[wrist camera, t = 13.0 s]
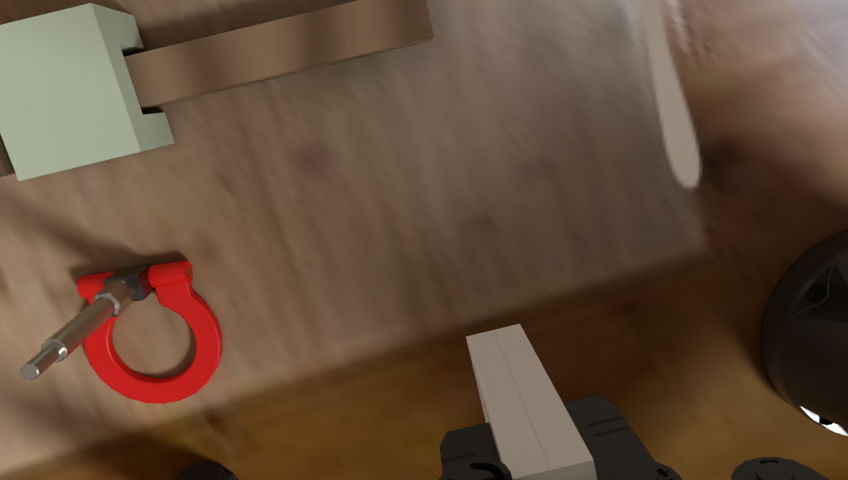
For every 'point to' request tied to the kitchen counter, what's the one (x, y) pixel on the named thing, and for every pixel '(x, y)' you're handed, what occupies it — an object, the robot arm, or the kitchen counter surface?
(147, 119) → the slider
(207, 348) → the tow hook
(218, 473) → the butter churn
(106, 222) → the kitchen counter surface
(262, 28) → the rail
